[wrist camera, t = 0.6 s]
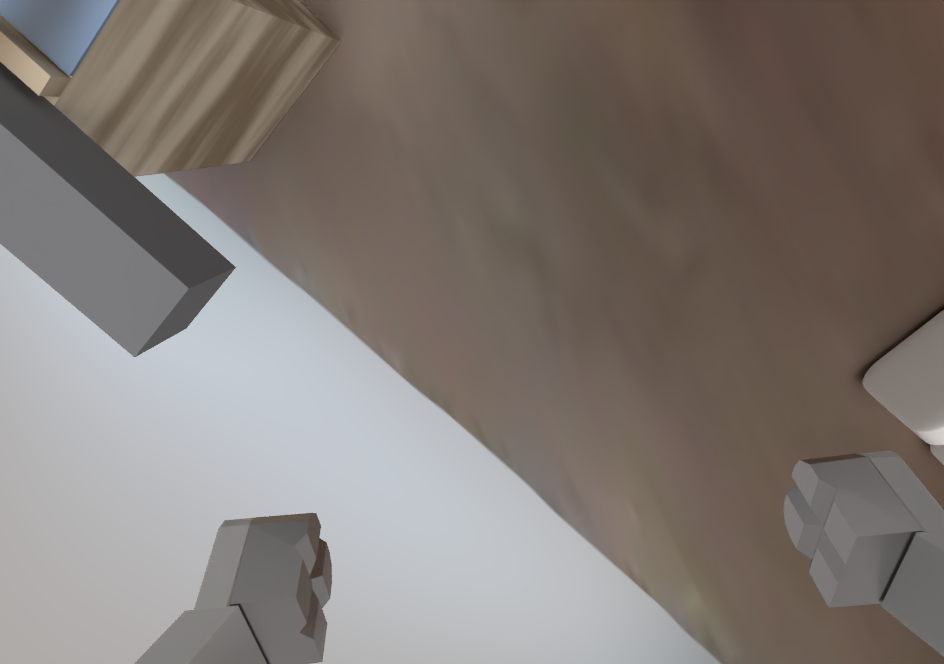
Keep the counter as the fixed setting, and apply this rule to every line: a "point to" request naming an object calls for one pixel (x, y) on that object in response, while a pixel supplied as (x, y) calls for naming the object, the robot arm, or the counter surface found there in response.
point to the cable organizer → (914, 383)
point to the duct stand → (167, 72)
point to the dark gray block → (96, 227)
